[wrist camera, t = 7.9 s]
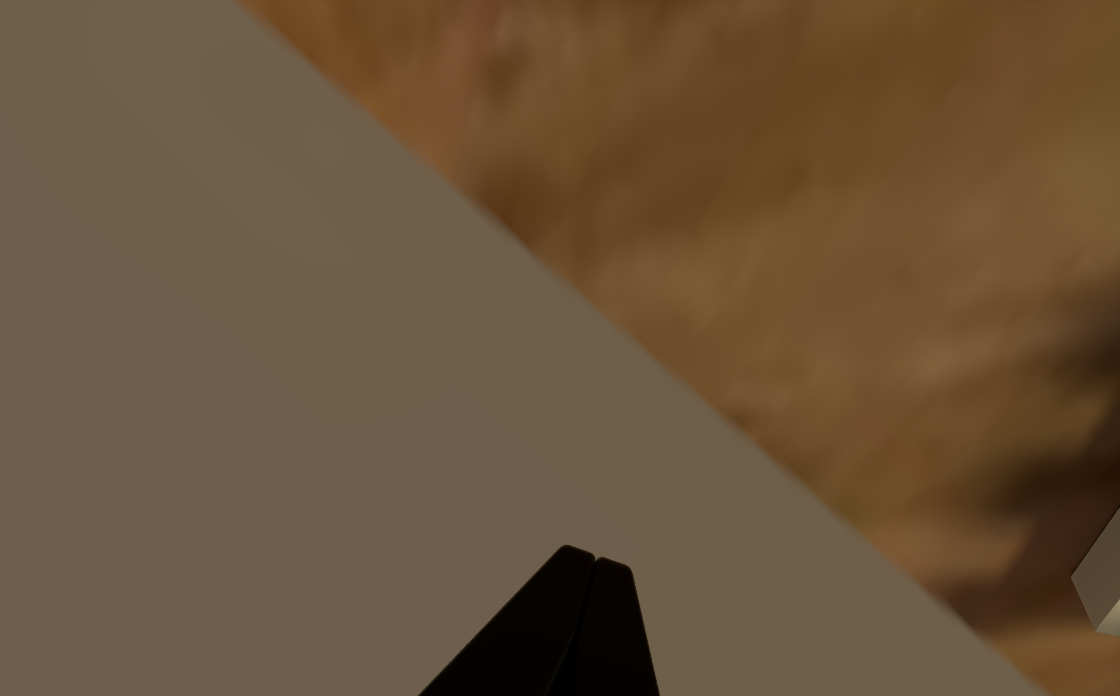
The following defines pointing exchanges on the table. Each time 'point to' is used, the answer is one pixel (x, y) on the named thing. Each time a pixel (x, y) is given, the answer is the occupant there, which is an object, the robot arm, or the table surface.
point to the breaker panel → (1102, 580)
